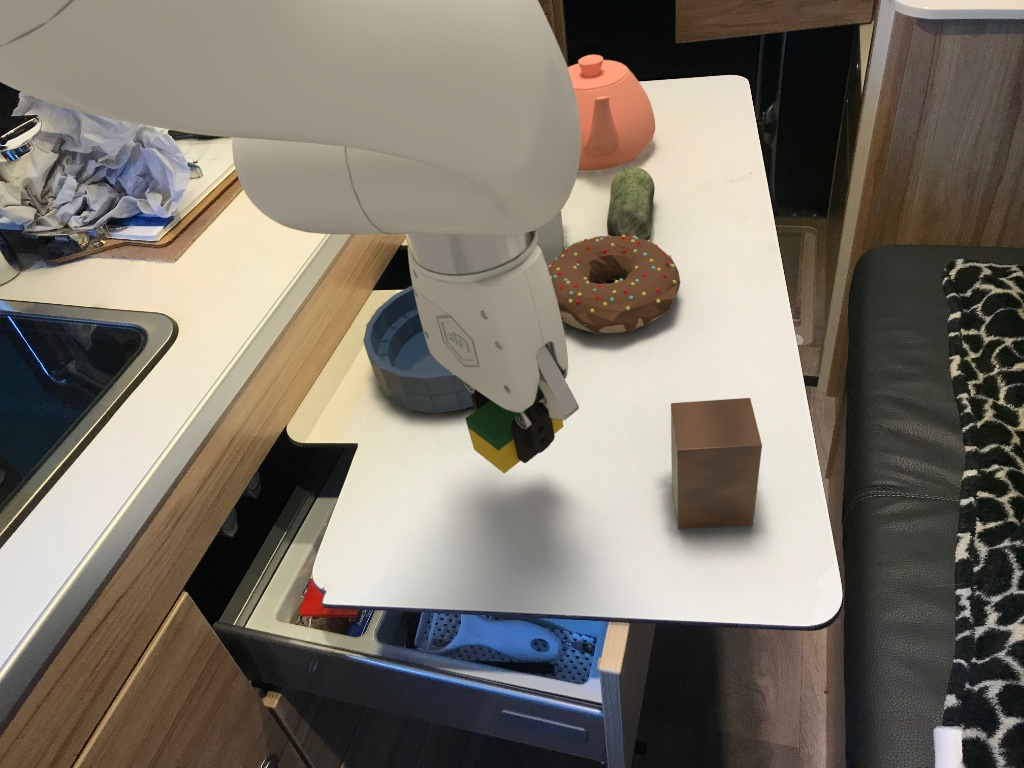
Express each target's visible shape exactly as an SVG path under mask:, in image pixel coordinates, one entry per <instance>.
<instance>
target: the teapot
mask: <svg viewBox="0 0 1024 768" xmlns="http://www.w3.org/2000/svg"><path fill="white" fill-rule="evenodd" d="M577 62H578V63H575V64H573V65H570V66H567V68H568V71H569V74H570V77H571V80H572V84H573V88H574V92H575V96H576V99H577V104H578V110H579V116H580V126H581V154H580V162H579V169H578V171H583V172H587V171H588V172H590V171H603V170H607V169H608V170H609V169H612V168H616V167H619V166H622V165H624V164H627V163H629V162H631V161H633V160H635V159H636V158H638V156H640V155H641V153H642V152H643V151H644V150H645V149H646V148H647V146H649V144H650V143H651V142H652V140H653V138H654V135H655V132H656V119H655V115H654V110H653V106H652V104H651V100H650V98H649V97H648V94H647V92H646V91H645V89H644V88H643V85H642V84H641V83H640V81H639V80H638V79H637V78H636V76H635V74H634V73H633V72H632V71H631V70H630V69H629V67H628V66H627V65H625V64H624V63H622V62H619V61H616V60H610V59H604V57H603V56H602V55H599V54H588V55H585V56H583V57H581V58H579V59H578V61H577Z"/></svg>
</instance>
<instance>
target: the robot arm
mask: <svg viewBox="0 0 1024 768" xmlns="http://www.w3.org/2000/svg"><path fill="white" fill-rule="evenodd" d="M545 14H546V13H545V12H544V10H543V7H542V6H541V4H540V2H539V0H0V83H2V84H3V85H6V86H7V87H10V88H12V89H14V90H16V91H19V92H21V93H24V94H27V95H29V96H31V97H33V98H35V99H38V100H41V101H44V102H46V103H48V104H50V105H53V106H56V107H59V108H64V109H67V110H72V111H75V112H79V113H83V114H89V115H91V116H92V115H93V116H96V117H97V116H98V117H103V118H108V119H113V120H117V121H122V122H126V123H127V122H128V123H133V124H138V125H142V126H146V127H147V126H148V127H151V128H152V127H153V128H159V129H163V130H169V131H176V132H180V133H186V134H193V135H203V136H211V137H224V138H232V145H231V150H232V160H233V165H234V169H235V173H236V175H237V178H238V181H239V184H240V186H241V187H242V189H243V192H244V193H245V195H246V196H247V198H248V199H249V200H250V202H251V203H252V204H253V205H254V206H255V208H256V209H257V210H259V212H260V213H262V214H263V215H264V216H266V218H268V219H269V220H271V221H273V222H275V223H277V224H278V225H280V226H283V227H285V228H288V229H291V230H296V231H300V232H304V233H310V234H320V235H404V236H405V239H406V242H407V256H408V266H409V273H410V279H411V284H412V285H413V290H414V295H415V300H416V304H417V308H418V312H419V316H420V320H421V324H422V328H423V332H424V335H425V339H426V342H427V345H428V348H429V351H430V353H431V354H432V356H433V357H434V358H435V359H436V360H437V361H438V362H439V363H440V364H441V365H442V366H444V367H445V368H446V369H448V370H449V371H450V372H452V373H453V374H455V375H456V376H457V377H459V378H460V379H461V380H463V382H464V385H465V386H466V388H467V389H468V390H469V391H470V392H472V393H473V392H475V393H474V394H473V395H472V396H471V398H472V402H473V405H474V406H473V409H474V411H475V410H477V409H478V408H480V407H481V406H483V405H484V404H486V403H487V402H488V401H490V400H492V401H493V402H495V403H496V404H498V405H499V406H501V407H502V408H504V409H507V410H509V411H512V413H513V416H514V420H513V421H512V422H511V424H510V426H511V430H512V434H513V439H514V443H515V447H516V451H517V456H518V459H519V460H520V462H522V463H523V464H527V463H529V461H531V460H532V459H534V458H535V457H536V456H537V455H538V454H541V453H543V452H544V451H545V450H547V449H548V448H549V447H550V446H551V444H552V443H553V442H554V441H555V439H556V438H555V436H556V435H555V434H554V429H553V423H552V419H555V420H563V421H566V420H567V419H569V418H570V417H571V416H572V415H574V413H576V412H578V410H579V409H580V406H579V403H578V402H577V399H576V397H575V396H574V394H573V392H572V390H571V389H570V387H569V384H568V382H567V381H566V379H567V378H568V374H569V355H568V346H567V340H566V335H565V329H564V323H563V321H562V319H561V314H560V310H559V306H558V302H557V298H556V294H555V291H554V287H553V283H552V280H551V277H550V274H549V271H548V267H547V265H546V262H545V259H544V256H543V253H542V250H541V248H540V247H539V246H538V245H537V240H538V234H537V229H539V228H541V227H543V226H544V225H546V224H547V223H549V222H550V221H552V220H553V219H554V217H555V216H556V215H557V214H558V213H559V212H560V211H561V212H562V210H563V209H564V207H565V205H566V203H567V202H568V200H569V198H570V197H571V194H572V192H573V189H574V187H575V183H576V182H577V177H578V173H579V170H578V169H579V162H580V154H581V126H580V116H579V110H578V104H577V99H576V96H575V92H574V88H573V84H572V80H571V77H570V74H569V71H568V65H567V62H566V60H565V57H564V55H563V51H562V50H561V48H560V44H559V43H558V41H557V38H556V36H555V34H554V32H553V29H552V28H551V25H550V23H549V21H548V18H547V16H546V15H545ZM412 285H411V286H412ZM536 396H537V398H536ZM535 398H536V399H535Z"/></svg>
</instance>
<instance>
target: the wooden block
mask: <svg viewBox="0 0 1024 768" xmlns="http://www.w3.org/2000/svg"><path fill="white" fill-rule="evenodd" d="M754 411H755V410H754V407H753V404H752V399H751V397H741V398H725V399H711V400H710V399H709V400H695V401H683V402H682V401H681V402H671V403H670V437H671V440H670V442H671V443H670V446H671V447H670V448H671V452H670V453H671V487H672V495H673V503H674V511H675V518H676V527H677V529H678V530H680V529H681V530H682V529H683V530H685V529H704V528H705V529H707V528H708V529H709V528H728V527H748V526H749V527H751V526H754V522H755V521H754V520H755V510H756V501H757V494H758V485H759V476H760V467H761V459H762V450H763V443H762V439H761V436H760V432H759V427H758V423H757V419H756V414H755V412H754Z"/></svg>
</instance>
